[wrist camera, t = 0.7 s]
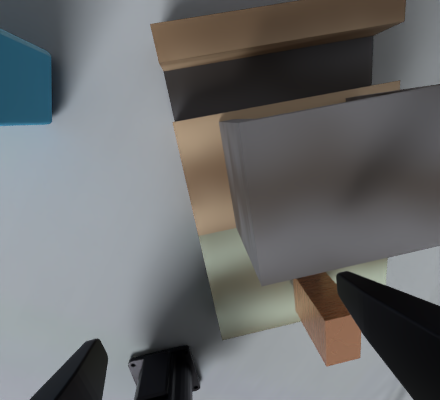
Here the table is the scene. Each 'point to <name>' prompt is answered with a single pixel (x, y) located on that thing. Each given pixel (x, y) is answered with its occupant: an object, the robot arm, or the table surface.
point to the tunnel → (298, 150)
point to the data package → (24, 82)
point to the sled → (326, 318)
